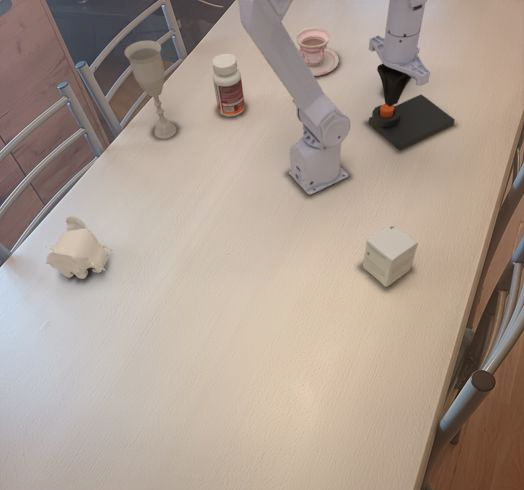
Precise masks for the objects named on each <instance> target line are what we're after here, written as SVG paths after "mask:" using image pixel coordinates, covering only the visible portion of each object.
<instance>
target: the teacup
mask: <svg viewBox="0 0 524 490" xmlns="http://www.w3.org/2000/svg"><path fill="white" fill-rule="evenodd" d="M295 38H296V42H297V45H298V46H299V48H300V50H299V49H298V51H299V52H300V54H301V56H302V57H303V59H304V61H305V62H306V64H307V65H308V67H309V69H310V70H311V72H312V74H313V75H314V77H320V76H324V75H327V74H329V73H332V72H333V71H334V70H335V69H336V68H337V67H338V65H339V62H340V61H339V56H338V54H337V52H335V51H333V50H332V49H331V48H327V45H328V44H329V42H330V40H331V34H330V32H328V31H327V30H326V29H324V28H322V27H319V26H318V27H317V26H310V27H309V26H308V27H305V28H303V29H301V30H299V31H298V32H297V34H296V37H295Z"/></svg>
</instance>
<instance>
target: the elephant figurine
mask: <svg viewBox="0 0 524 490" xmlns="http://www.w3.org/2000/svg"><path fill="white" fill-rule="evenodd" d="M65 223H66V226H65V227H66V230H67V231H65V232H63V233H62V234H61V235H60V237H59V238H58V240H57V241H56V243H55V245H54V246H51V245H49V246H48V245H46V246H45V248H46V249H47V248H48V249H49V250H51V251H52V252H50V253H48V254H47V256H46V261H45V262H46V263H45V264H46V265H48V266H51V267H52V268H53V269H55V270H57V271H58V272H59V273H60V274H61V275H63V276H64V277H66V278H69V279H70V278H73V276H76V278H78V279H80V280H85V279H86V278H87V276H88V274H89V271H88V269H90V268H92V272H93V273H101V272H102V271H107V269H105V268H104V267H105V264H106V262H107V261H108V258H109V257H108V256H109V255H108V253H107V250H109V251H110V252H113V253H114V254H116V252H115V251H114V250H113V249H112V248H111V247H110V246H108V245H107V244H105V243H99V242H98V240H97V238H96V235H94V233H93V232H92V231H91V230H90V229H89V228H88V227H87V225H86V224H85V223H84V221H83V220H82V219H81V218H79V217H77V216H73V215H70V216H68V217H67V218H66V219H65ZM106 249H107V250H106Z"/></svg>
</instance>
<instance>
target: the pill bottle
mask: <svg viewBox="0 0 524 490" xmlns="http://www.w3.org/2000/svg"><path fill="white" fill-rule="evenodd" d="M212 70H213V74H212V82H213V88H214V93H215V99H216V104H217V109H218V112H219V114H220V115H222V116H224V117H228V118H229V117H230V118H231V117H236V116H239V115H241V114H242V113H244V111H245V97H244V88H243V81H242V74H241V71H240V69H239V68H238V61H237V57H236V55H234V54H231V53H222V54H218V55H216V56H214V58H213V59H212Z"/></svg>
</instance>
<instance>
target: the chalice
mask: <svg viewBox="0 0 524 490" xmlns="http://www.w3.org/2000/svg"><path fill="white" fill-rule="evenodd" d="M161 52H162V46H161V44H160V43H159V42H157V41H155V40H139V41H137V42H133V43H132V44H129V45H128V46H127V47H125V50H124V56H125V57H126V58H127V60H129V64H130V67H131V70H132V73H133V76H134V79H135V81H136V83H138V85H139V86H140V88H141V89H142V90H143V91H144V92H145V93H146V94H147V95H148V96H149V97H150V98H153V99H154V100H153V101H154V103H153V105H154V106H155V107H156V111H155V113H156V114H157V115H158V117H159V119H158V120H157V121H156V122H155V127H154V136H155V137H156V138H158V139H169V138H172V137H173V136H174V135H175V134H176V133H177V131H178V130H177V126H175V125H174V123H173V122H172V120H170V119H169V118H166V117H165V116H164V113H165V109H164V108H162V104H163V102H162V101H161V100H160V99H159V96H161V95H162V93H163V89H164V84H165V75H166V73H165V71H166V70H165V68H164V63H163V59H162V56H161Z"/></svg>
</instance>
